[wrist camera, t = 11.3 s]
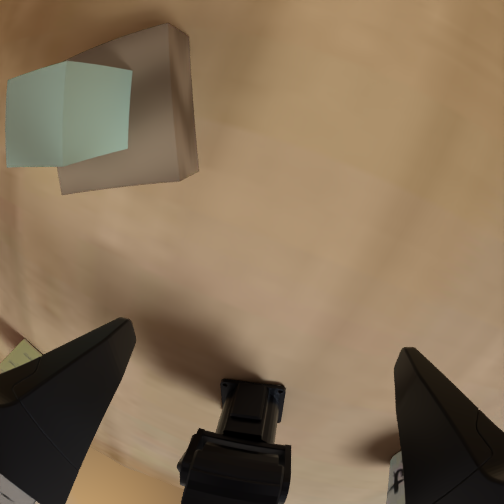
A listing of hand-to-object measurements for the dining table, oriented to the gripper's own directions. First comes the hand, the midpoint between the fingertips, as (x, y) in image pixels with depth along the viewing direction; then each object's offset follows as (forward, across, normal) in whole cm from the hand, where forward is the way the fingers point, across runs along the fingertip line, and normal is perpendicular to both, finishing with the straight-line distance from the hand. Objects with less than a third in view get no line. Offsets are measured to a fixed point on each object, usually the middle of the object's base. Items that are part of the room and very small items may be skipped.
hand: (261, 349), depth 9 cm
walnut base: (+14, +12, -8) cm, 19 cm away
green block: (+10, +12, -8) cm, 17 cm away
